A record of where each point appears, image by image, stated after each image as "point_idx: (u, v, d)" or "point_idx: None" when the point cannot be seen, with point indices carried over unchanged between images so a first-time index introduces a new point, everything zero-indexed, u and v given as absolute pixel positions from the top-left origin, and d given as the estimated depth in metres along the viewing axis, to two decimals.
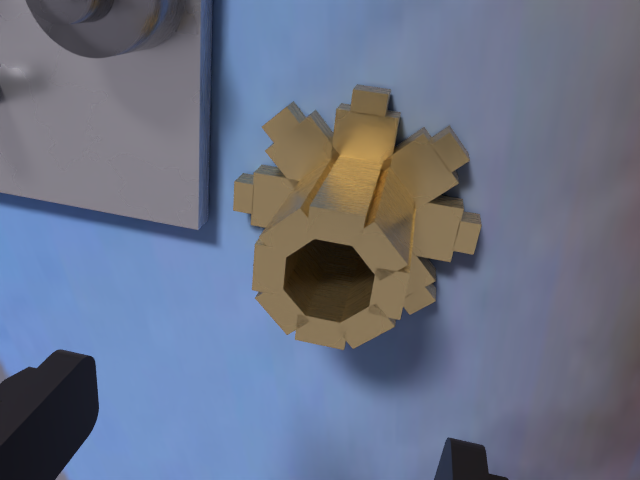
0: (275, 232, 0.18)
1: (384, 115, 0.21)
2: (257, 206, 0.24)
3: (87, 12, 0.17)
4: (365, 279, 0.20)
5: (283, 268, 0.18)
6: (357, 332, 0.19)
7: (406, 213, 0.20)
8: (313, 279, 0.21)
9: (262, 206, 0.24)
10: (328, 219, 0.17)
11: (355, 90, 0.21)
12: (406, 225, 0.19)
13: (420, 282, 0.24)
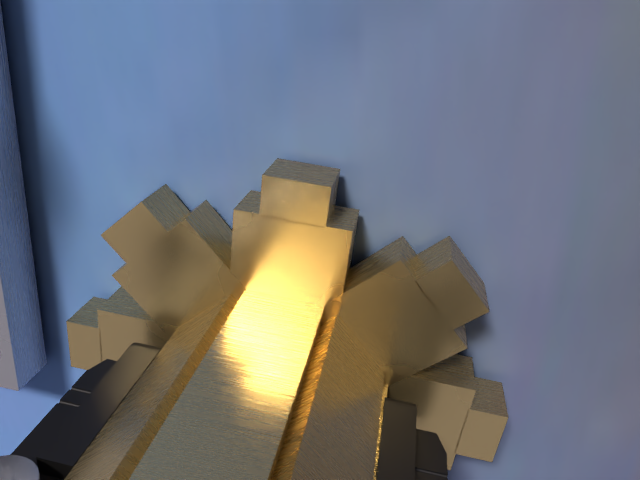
0: None
1: (324, 224, 0.11)
2: None
3: None
4: None
5: None
6: None
7: (364, 430, 0.10)
8: None
9: None
10: None
11: (267, 177, 0.11)
12: (361, 475, 0.09)
13: None
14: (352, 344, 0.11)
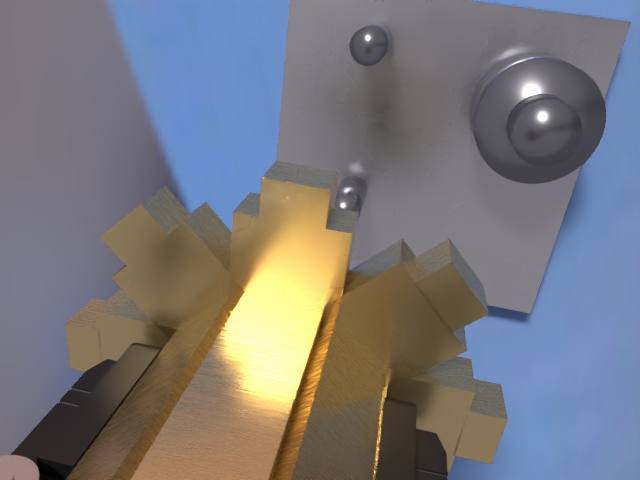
0: None
1: (324, 227, 0.11)
2: None
3: (565, 156, 0.20)
4: None
5: None
6: None
7: (364, 433, 0.10)
8: None
9: None
10: None
11: (266, 180, 0.11)
12: (361, 479, 0.09)
13: None
14: (351, 346, 0.11)
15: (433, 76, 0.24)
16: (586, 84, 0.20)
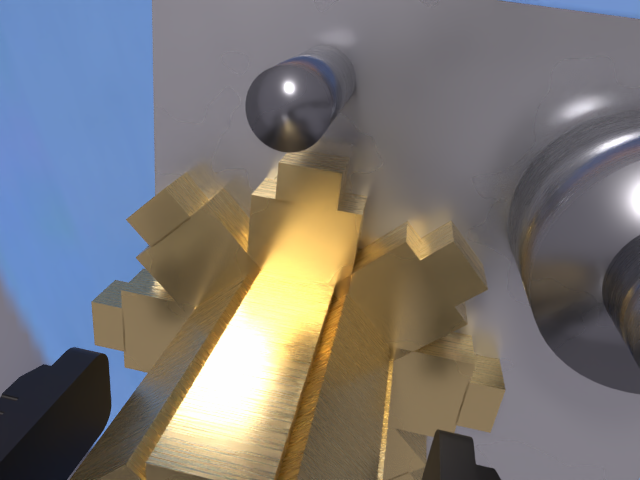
0: None
1: (336, 208, 0.12)
2: (132, 341, 0.14)
3: None
4: None
5: None
6: None
7: (373, 397, 0.11)
8: None
9: (140, 341, 0.14)
10: None
11: (282, 164, 0.11)
12: (371, 435, 0.10)
13: (401, 466, 0.14)
14: (360, 320, 0.12)
15: (438, 151, 0.12)
16: None
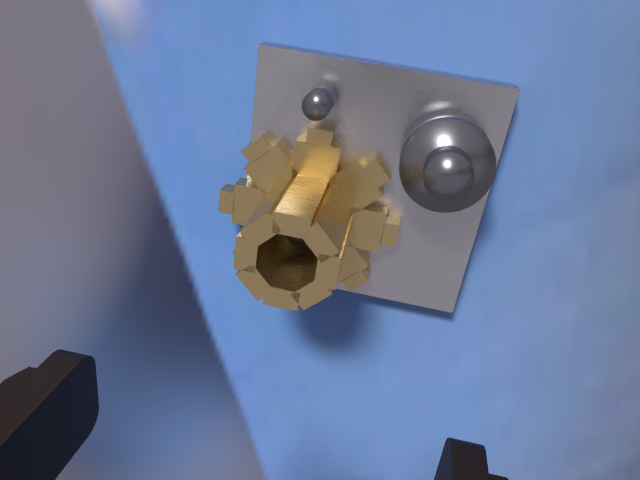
0: (250, 228, 0.26)
1: (330, 146, 0.29)
2: (237, 209, 0.32)
3: (464, 194, 0.26)
4: (314, 263, 0.29)
5: (255, 253, 0.26)
6: (306, 299, 0.27)
7: (343, 216, 0.29)
8: (277, 262, 0.29)
9: (240, 209, 0.32)
10: (286, 220, 0.25)
11: (309, 128, 0.29)
12: (342, 225, 0.28)
13: (357, 267, 0.32)
14: (339, 193, 0.30)
15: (371, 124, 0.30)
16: (481, 139, 0.26)
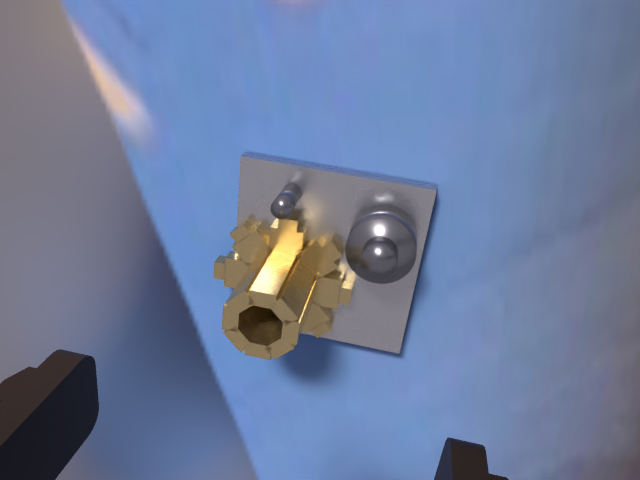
0: (233, 301, 0.35)
1: (296, 231, 0.39)
2: (227, 276, 0.41)
3: (391, 273, 0.35)
4: None
5: (237, 318, 0.35)
6: (276, 351, 0.36)
7: (305, 286, 0.38)
8: (256, 321, 0.38)
9: (230, 276, 0.41)
10: (258, 296, 0.34)
11: None
12: (303, 294, 0.37)
13: (321, 320, 0.41)
14: (304, 266, 0.39)
15: (327, 213, 0.39)
16: (403, 232, 0.35)
